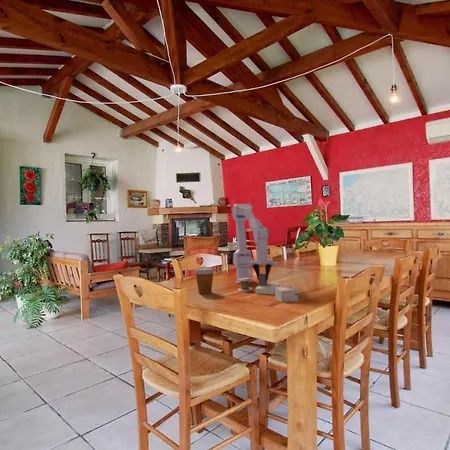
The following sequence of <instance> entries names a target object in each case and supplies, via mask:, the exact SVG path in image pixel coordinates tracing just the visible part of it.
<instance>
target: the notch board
mask: <svg viewBox="0 0 450 450" xmlns="http://www.w3.org/2000/svg"><path fill="white" fill-rule="evenodd" d="M275 287H281V283H280V282H274V281H273V282H272V281H267V285H258V286H256V288H255V290H254V291H255V294H256V295H275Z"/></svg>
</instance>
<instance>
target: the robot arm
mask: <svg viewBox="0 0 450 450" xmlns="http://www.w3.org/2000/svg"><path fill="white" fill-rule="evenodd" d="M231 211H232V219H233V220H234V221H235V229H236V230H235V231H236V233H235V234H236V242H237V243H236V244H237V250H235V251H234V253H233V257H232V258H233V259H232V263H233V265H234V266H235V268H236V281H235V282H234V284H241V281H239V279H240V278H250V279H251V280H250V281H249V284H250V283H252V282H253V279H252V275H251V274H252V273H251V268H250V267H251V266H252V268H253V270H254V272H255V274H256V278H257V280H258V275H259V274H261V273H260V267H261V266H264V269H265V274H266V280H267V281H268V280H269V275H270V271H271V269H272V266H278V260H269V254H268V253H269V251H268V250H269V249H268V247H269V246H268V240H269V238H270V231H269V229H268V227H266V226H264V225H263V224H262V223H261V221H260V220H259V219H258V218H256V217H255V215H254V214H253V206H252V205H251V203H235V204H233V206H232V209H231ZM246 220H247V221H248V222H249V223H248V226H249V228H250V230H252V232H253V234H252V235H253V239H254V243H255V256H256V259H255V260H253V257H252V253H251V251H250V250H249V249H247V238H246V237H247V236H246V226H245V221H246Z"/></svg>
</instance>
